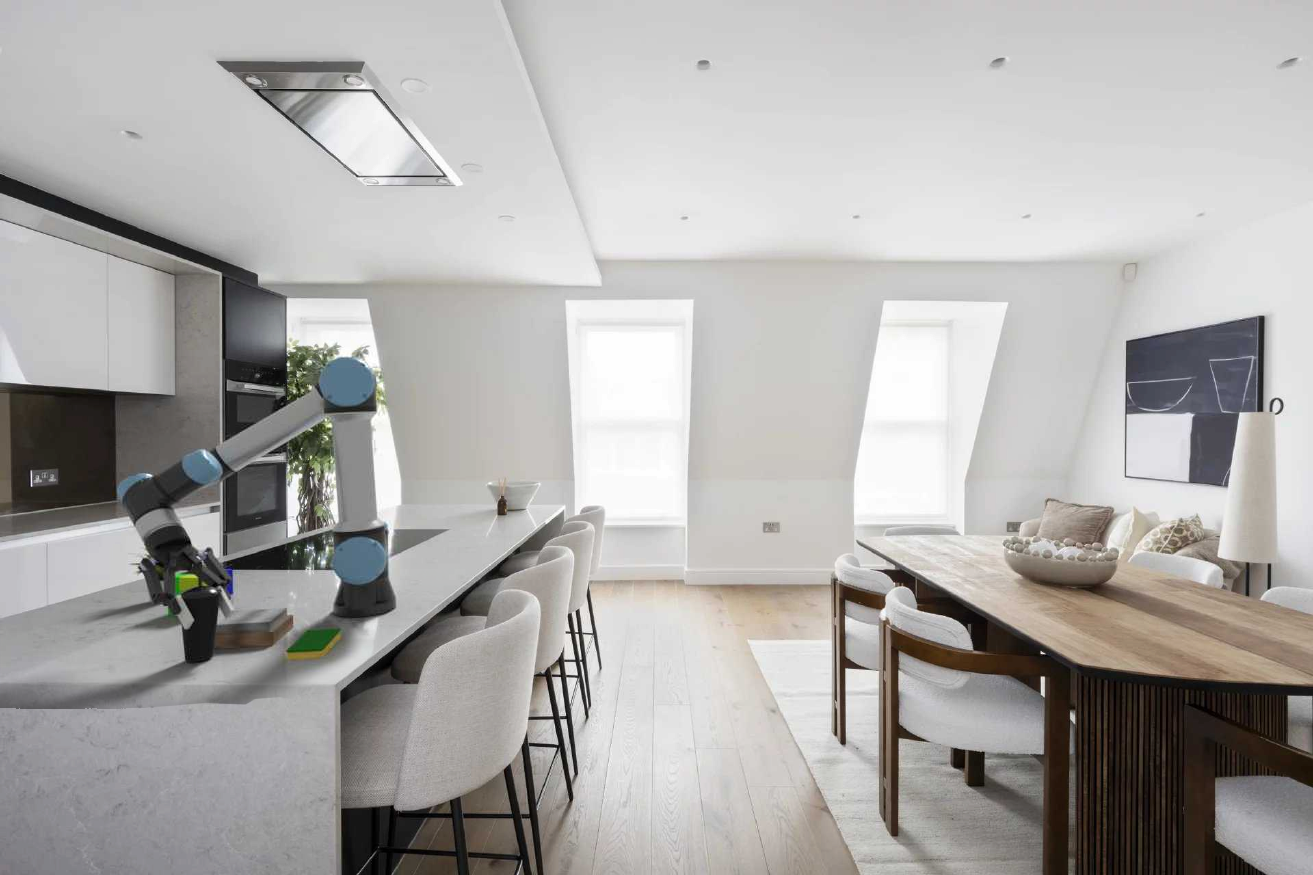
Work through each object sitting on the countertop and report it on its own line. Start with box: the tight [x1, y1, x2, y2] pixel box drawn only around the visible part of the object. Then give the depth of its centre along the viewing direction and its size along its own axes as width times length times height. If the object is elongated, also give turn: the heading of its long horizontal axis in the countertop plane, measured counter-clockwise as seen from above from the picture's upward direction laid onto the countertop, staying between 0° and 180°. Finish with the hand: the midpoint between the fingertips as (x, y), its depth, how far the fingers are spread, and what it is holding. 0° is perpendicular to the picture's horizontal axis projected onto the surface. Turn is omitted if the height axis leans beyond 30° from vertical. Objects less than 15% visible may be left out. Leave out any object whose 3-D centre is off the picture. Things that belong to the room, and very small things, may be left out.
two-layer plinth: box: [214, 607, 294, 650], centre depth 151 cm, size 13×13×5 cm
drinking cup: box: [177, 561, 222, 663], centre depth 137 cm, size 8×8×20 cm
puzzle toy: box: [167, 568, 234, 617], centre depth 173 cm, size 10×10×10 cm
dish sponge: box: [285, 628, 342, 661], centre depth 144 cm, size 7×14×2 cm, turn 11°
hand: (210, 619), depth 135 cm, fingers closed on drinking cup, 7 cm apart
